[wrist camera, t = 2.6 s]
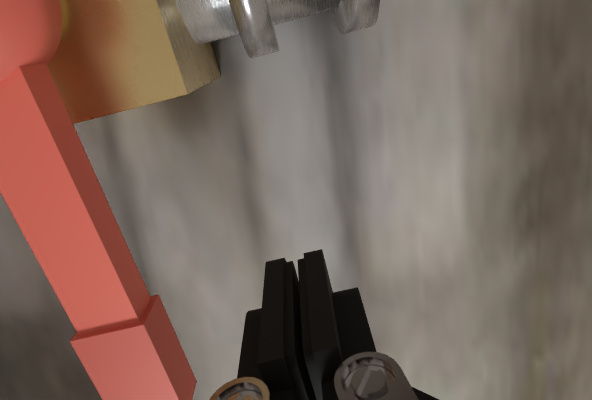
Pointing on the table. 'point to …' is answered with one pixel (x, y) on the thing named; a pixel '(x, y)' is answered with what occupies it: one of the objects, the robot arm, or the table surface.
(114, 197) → the table surface
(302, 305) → the robot arm
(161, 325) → the lever
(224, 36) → the ball valve
